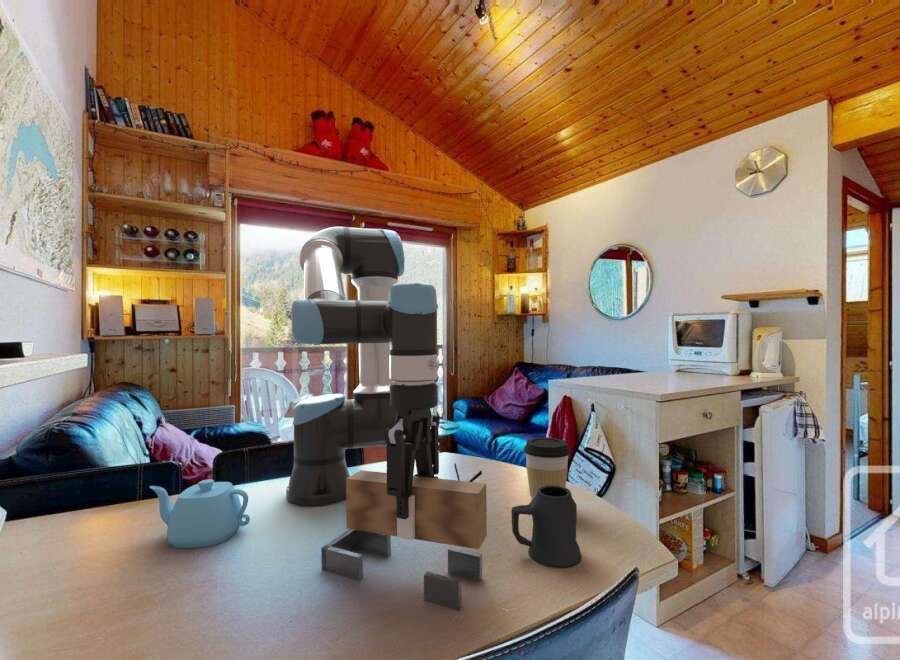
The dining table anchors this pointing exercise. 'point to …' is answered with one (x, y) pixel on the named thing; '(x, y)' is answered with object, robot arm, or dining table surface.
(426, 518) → the walnut slat
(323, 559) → the slat support bracket
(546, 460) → the coffee cup
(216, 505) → the teapot
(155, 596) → the dining table surface
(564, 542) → the mug
